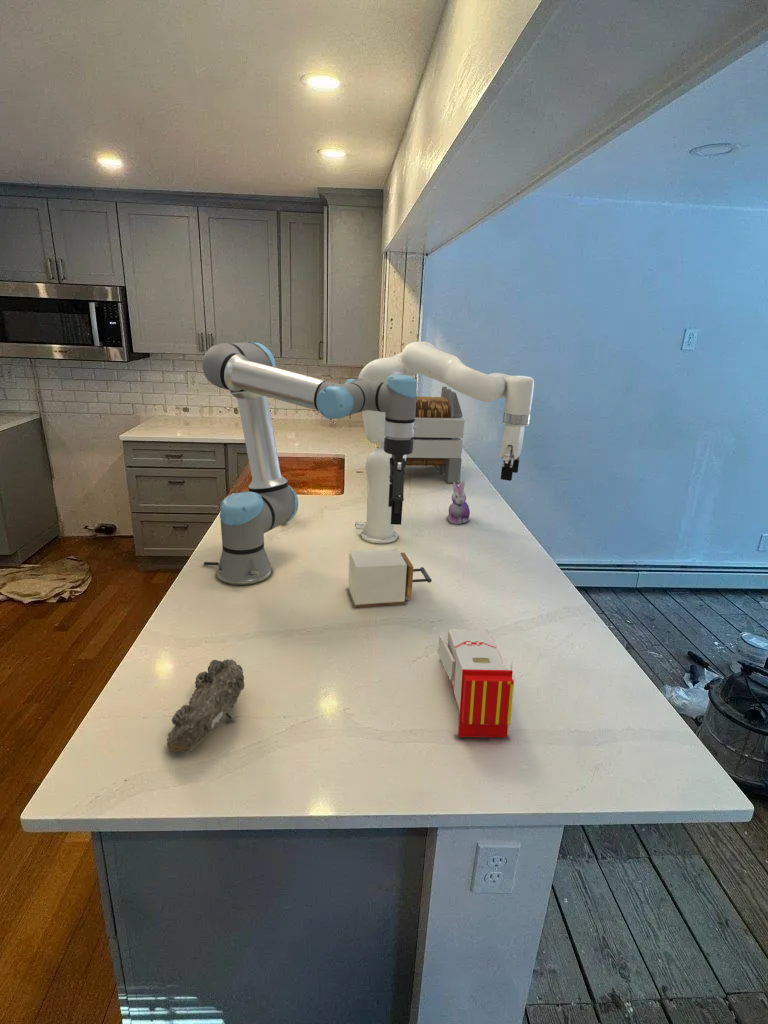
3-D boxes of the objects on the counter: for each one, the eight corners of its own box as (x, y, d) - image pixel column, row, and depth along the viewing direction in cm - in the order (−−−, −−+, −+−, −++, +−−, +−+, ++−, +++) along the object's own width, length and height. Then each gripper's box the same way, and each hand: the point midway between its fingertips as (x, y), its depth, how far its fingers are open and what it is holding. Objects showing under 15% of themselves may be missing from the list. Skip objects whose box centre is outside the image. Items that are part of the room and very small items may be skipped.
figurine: (455, 526, 209) (459, 487, 204) (440, 517, 217) (443, 479, 212) (476, 523, 213) (480, 485, 208) (460, 514, 221) (464, 477, 216)
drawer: (421, 582, 163) (424, 551, 160) (431, 597, 154) (434, 565, 151) (360, 586, 159) (361, 554, 156) (366, 602, 150) (368, 569, 147)
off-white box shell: (395, 586, 162) (397, 548, 158) (404, 604, 153) (407, 564, 149) (348, 589, 159) (349, 550, 155) (354, 607, 150) (356, 567, 146)
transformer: (382, 463, 289) (386, 382, 275) (445, 464, 293) (451, 384, 279) (390, 482, 257) (394, 392, 243) (460, 483, 261) (468, 394, 247)
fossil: (192, 660, 117) (244, 628, 112) (224, 691, 120) (276, 661, 115) (142, 746, 98) (202, 712, 93) (182, 779, 101) (242, 748, 96)
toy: (488, 613, 130) (523, 677, 101) (484, 667, 133) (517, 744, 104) (435, 612, 130) (455, 676, 101) (432, 666, 133) (451, 743, 103)
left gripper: (418, 449, 134) (412, 532, 141) (409, 428, 157) (405, 500, 164) (386, 448, 133) (382, 531, 141) (382, 426, 157) (379, 499, 164)
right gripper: (509, 413, 174) (502, 467, 180) (497, 422, 159) (490, 481, 165) (533, 416, 172) (526, 471, 177) (524, 425, 157) (516, 485, 162)
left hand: (394, 515), depth 153 cm, fingers open, 13 cm apart
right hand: (509, 475), depth 171 cm, fingers open, 9 cm apart
